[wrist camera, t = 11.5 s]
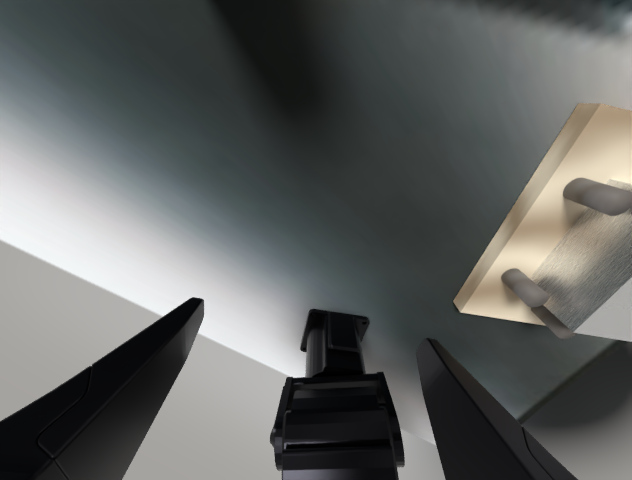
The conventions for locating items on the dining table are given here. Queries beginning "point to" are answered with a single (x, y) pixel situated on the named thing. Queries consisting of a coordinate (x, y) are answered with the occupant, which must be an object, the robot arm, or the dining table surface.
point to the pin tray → (552, 215)
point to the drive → (592, 274)
